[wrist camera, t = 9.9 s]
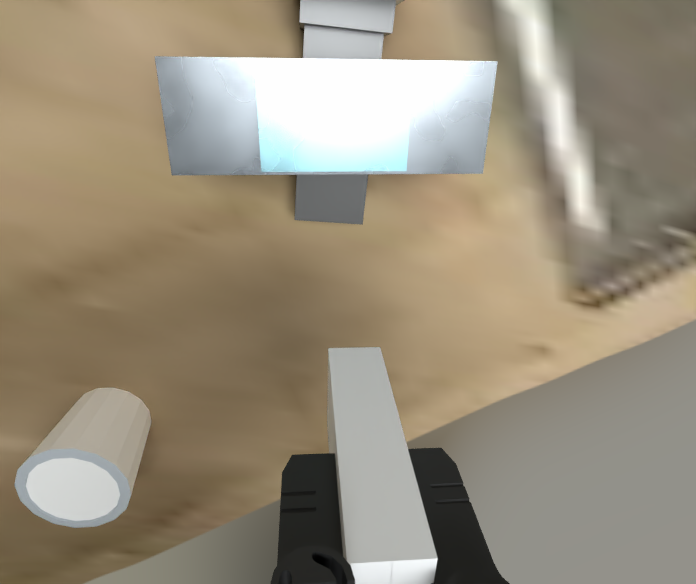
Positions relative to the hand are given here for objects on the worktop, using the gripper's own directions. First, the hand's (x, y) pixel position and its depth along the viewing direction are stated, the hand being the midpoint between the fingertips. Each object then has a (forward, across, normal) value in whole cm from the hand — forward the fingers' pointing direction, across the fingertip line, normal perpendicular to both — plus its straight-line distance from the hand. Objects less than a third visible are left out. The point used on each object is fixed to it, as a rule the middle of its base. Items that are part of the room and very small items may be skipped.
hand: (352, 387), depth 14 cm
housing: (+19, 0, +7) cm, 20 cm away
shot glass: (+19, -16, -16) cm, 29 cm away
